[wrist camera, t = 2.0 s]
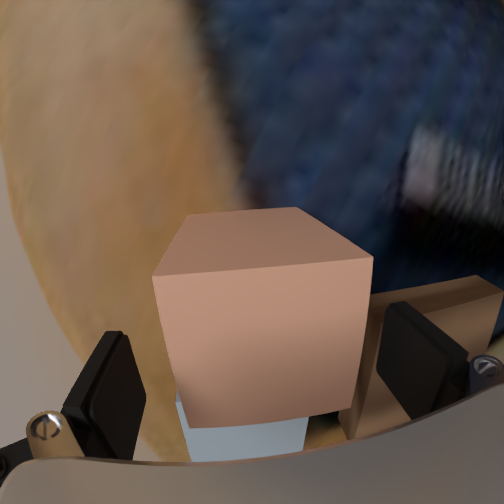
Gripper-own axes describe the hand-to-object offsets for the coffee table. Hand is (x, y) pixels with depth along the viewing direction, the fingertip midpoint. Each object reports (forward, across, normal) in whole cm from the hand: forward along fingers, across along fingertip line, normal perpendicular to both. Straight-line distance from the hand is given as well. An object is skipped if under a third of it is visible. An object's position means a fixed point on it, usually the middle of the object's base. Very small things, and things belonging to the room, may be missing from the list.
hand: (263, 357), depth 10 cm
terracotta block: (+8, 0, -1) cm, 8 cm away
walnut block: (+8, -13, +8) cm, 18 cm away
